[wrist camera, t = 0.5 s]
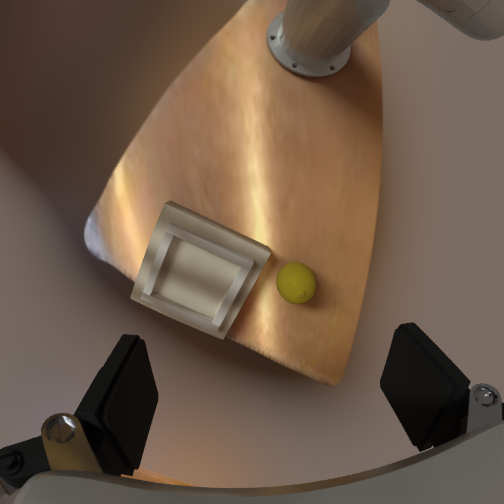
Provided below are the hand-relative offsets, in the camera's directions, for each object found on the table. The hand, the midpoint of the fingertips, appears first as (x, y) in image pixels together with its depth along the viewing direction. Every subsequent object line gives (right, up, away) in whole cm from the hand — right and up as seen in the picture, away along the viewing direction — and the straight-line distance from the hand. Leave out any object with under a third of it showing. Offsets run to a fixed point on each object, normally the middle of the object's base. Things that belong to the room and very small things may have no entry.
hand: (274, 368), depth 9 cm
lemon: (+5, +1, +34) cm, 34 cm away
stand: (-9, +1, +33) cm, 34 cm away
